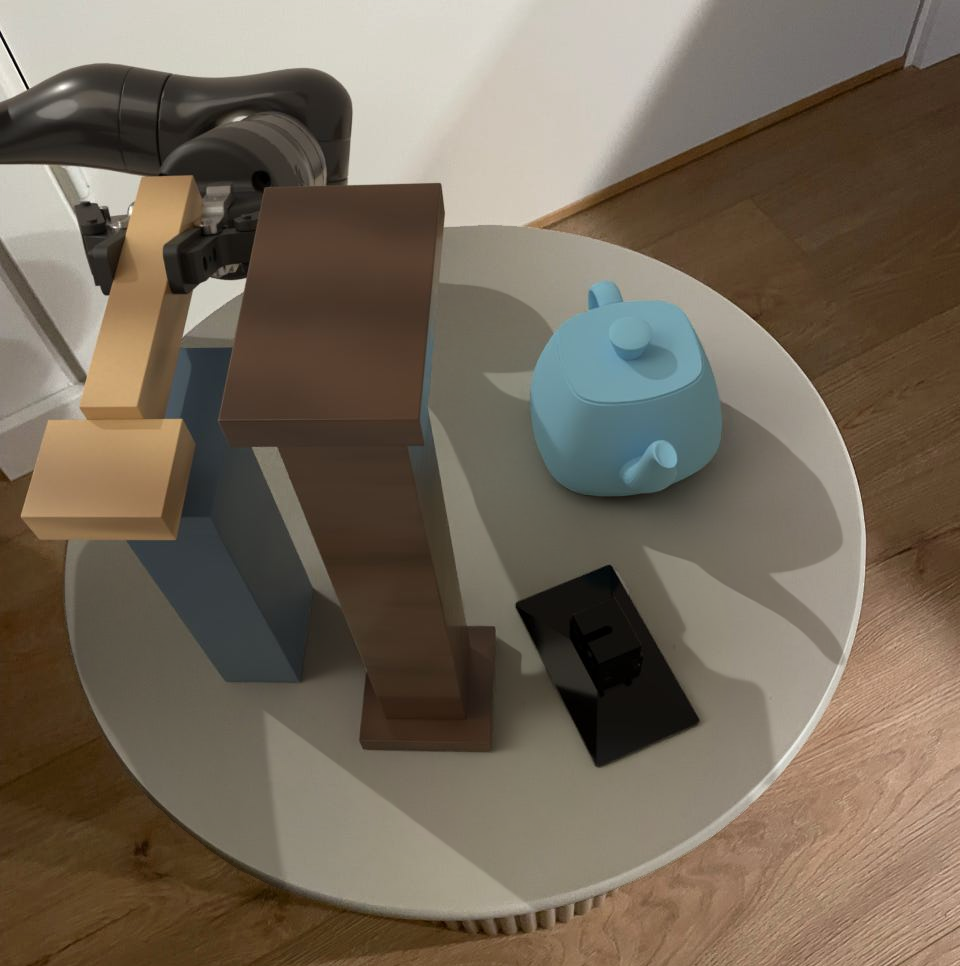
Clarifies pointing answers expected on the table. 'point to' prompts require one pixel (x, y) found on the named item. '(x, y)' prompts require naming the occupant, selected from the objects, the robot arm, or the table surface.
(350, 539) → the dark wood pedestal
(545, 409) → the teapot
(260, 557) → the blue-grey tall block
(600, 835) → the table surface
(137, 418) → the mallet
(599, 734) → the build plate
